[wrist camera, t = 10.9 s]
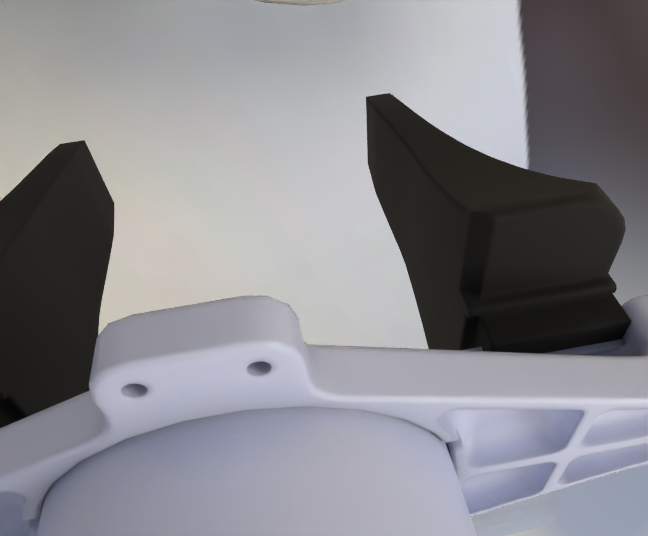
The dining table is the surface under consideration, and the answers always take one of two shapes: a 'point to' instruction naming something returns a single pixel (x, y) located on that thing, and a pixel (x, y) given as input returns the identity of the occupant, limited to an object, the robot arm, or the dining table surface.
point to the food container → (301, 1)
